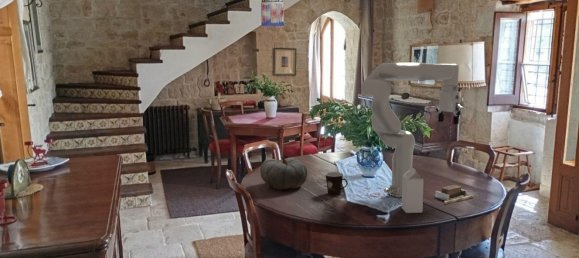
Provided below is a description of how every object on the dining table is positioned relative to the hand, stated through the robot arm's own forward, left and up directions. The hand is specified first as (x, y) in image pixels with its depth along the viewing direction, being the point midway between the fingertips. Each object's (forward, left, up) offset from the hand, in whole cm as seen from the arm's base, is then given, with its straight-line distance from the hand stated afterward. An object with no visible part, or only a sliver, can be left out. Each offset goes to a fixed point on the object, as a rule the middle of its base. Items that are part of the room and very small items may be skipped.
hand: (448, 122), depth 221 cm
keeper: (-11, -13, -33) cm, 38 cm away
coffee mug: (-56, +18, -34) cm, 68 cm away
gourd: (-71, +44, -34) cm, 90 cm away
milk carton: (-40, -18, -34) cm, 55 cm away
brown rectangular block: (-11, -13, -34) cm, 38 cm away
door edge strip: (-12, -19, -33) cm, 40 cm away
